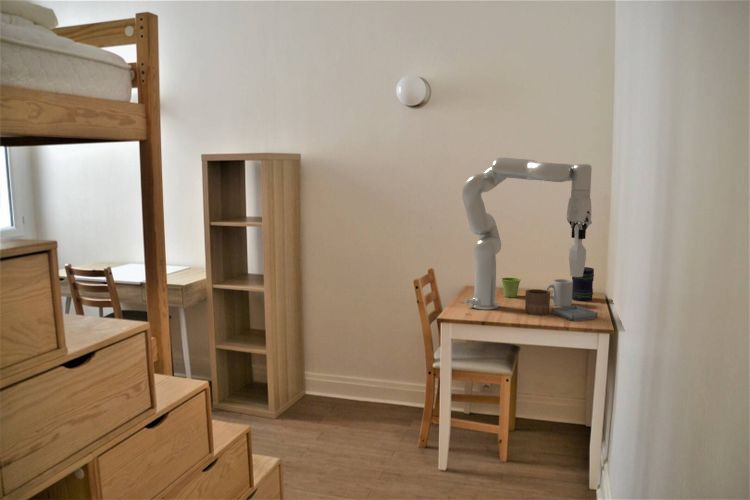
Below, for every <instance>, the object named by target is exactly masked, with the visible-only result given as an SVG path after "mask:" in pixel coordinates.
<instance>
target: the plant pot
mask: <svg viewBox="0 0 750 500" xmlns="http://www.w3.org/2000/svg"><path fill="white" fill-rule="evenodd" d="M500 280H501V284H502V289H503V296H504V297H505V298H510V299H511V298H517V297H518V291H519V286H520V283H521V280H522V279H521V278H518V277H502V278H501V279H500Z"/></svg>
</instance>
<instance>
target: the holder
mask: <svg viewBox="0 0 750 500" xmlns="http://www.w3.org/2000/svg"><path fill="white" fill-rule="evenodd" d="M550 296H551V292H550V291H549V290H548V291H546V289H534V288H533V289H527V290H525V303H524V304H525V305H524V306H525V307H524V312H525V313H526V312H527V313H526V314H528V315H529V314H530V315H534V316H536V315H537V316H545V315H549V314H550V306H551V305H550V303H551V299H550Z"/></svg>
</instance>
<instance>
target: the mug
mask: <svg viewBox="0 0 750 500" xmlns="http://www.w3.org/2000/svg"><path fill="white" fill-rule="evenodd" d="M550 288H552V295H550V300H552V305H553V306H556V307H567V306H573V305H572V304H573V300H572V288H573V281H572V279H571V280H570V279H562V278H561V279H560V278H559V279H554V280H553V283H551V284H548V285H547V286H546V287H545V290H546V291H549V289H550Z"/></svg>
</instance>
